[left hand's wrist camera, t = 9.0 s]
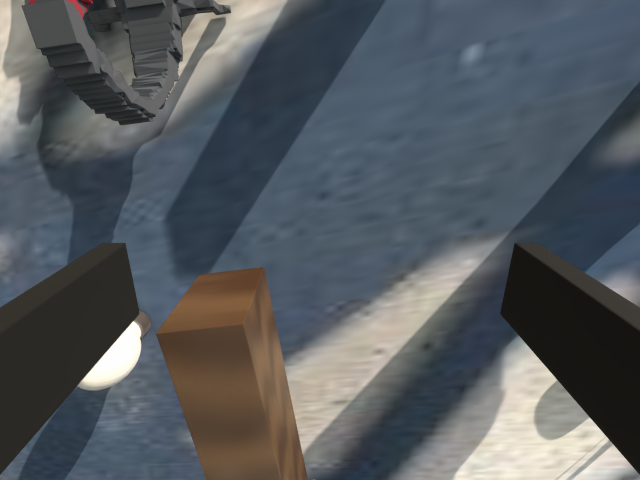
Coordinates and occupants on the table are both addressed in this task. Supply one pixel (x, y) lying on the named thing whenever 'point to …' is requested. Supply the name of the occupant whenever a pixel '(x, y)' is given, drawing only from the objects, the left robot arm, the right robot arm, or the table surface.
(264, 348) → the bar
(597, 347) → the left robot arm
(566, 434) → the table surface
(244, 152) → the table surface
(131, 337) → the light bulb
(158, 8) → the toy
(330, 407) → the table surface
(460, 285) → the table surface
